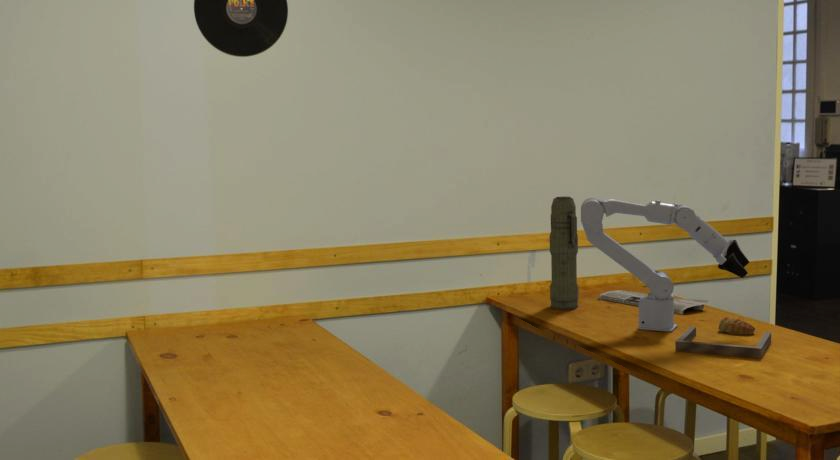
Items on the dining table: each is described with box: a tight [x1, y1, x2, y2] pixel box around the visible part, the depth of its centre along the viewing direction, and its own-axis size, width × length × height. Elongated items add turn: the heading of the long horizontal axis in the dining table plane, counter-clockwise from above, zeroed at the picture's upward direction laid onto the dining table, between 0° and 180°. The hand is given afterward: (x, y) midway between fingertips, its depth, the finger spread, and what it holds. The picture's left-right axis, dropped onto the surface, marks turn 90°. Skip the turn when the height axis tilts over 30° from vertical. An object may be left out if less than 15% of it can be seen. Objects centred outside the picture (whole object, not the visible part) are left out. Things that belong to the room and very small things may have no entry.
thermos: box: [549, 196, 580, 311], centre depth 306 cm, size 9×12×35 cm
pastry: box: [718, 316, 756, 336], centre depth 268 cm, size 9×7×4 cm
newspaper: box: [597, 289, 709, 315], centre depth 309 cm, size 35×12×4 cm, turn 37°
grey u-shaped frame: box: [674, 325, 772, 359], centre depth 253 cm, size 21×18×2 cm
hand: (745, 269), depth 269 cm, fingers open, 7 cm apart
